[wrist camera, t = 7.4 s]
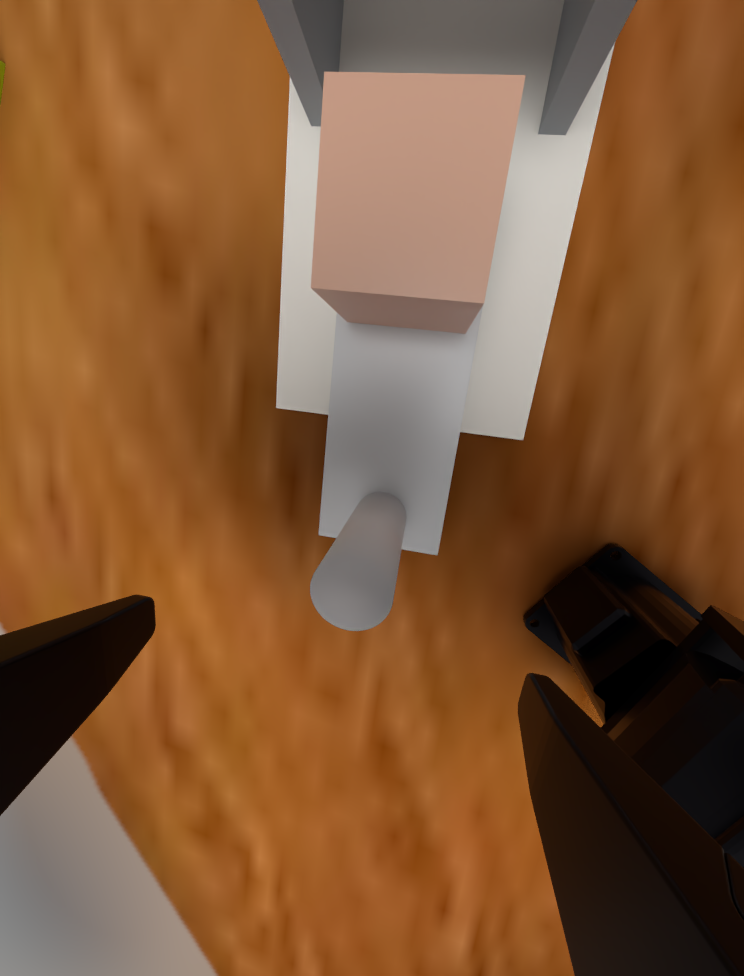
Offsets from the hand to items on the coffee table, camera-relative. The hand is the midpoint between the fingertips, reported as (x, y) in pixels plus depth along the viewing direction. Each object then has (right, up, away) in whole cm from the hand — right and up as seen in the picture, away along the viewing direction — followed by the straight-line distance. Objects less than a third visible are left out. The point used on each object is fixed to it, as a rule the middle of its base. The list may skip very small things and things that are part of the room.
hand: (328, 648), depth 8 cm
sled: (+2, +9, +8) cm, 12 cm away
